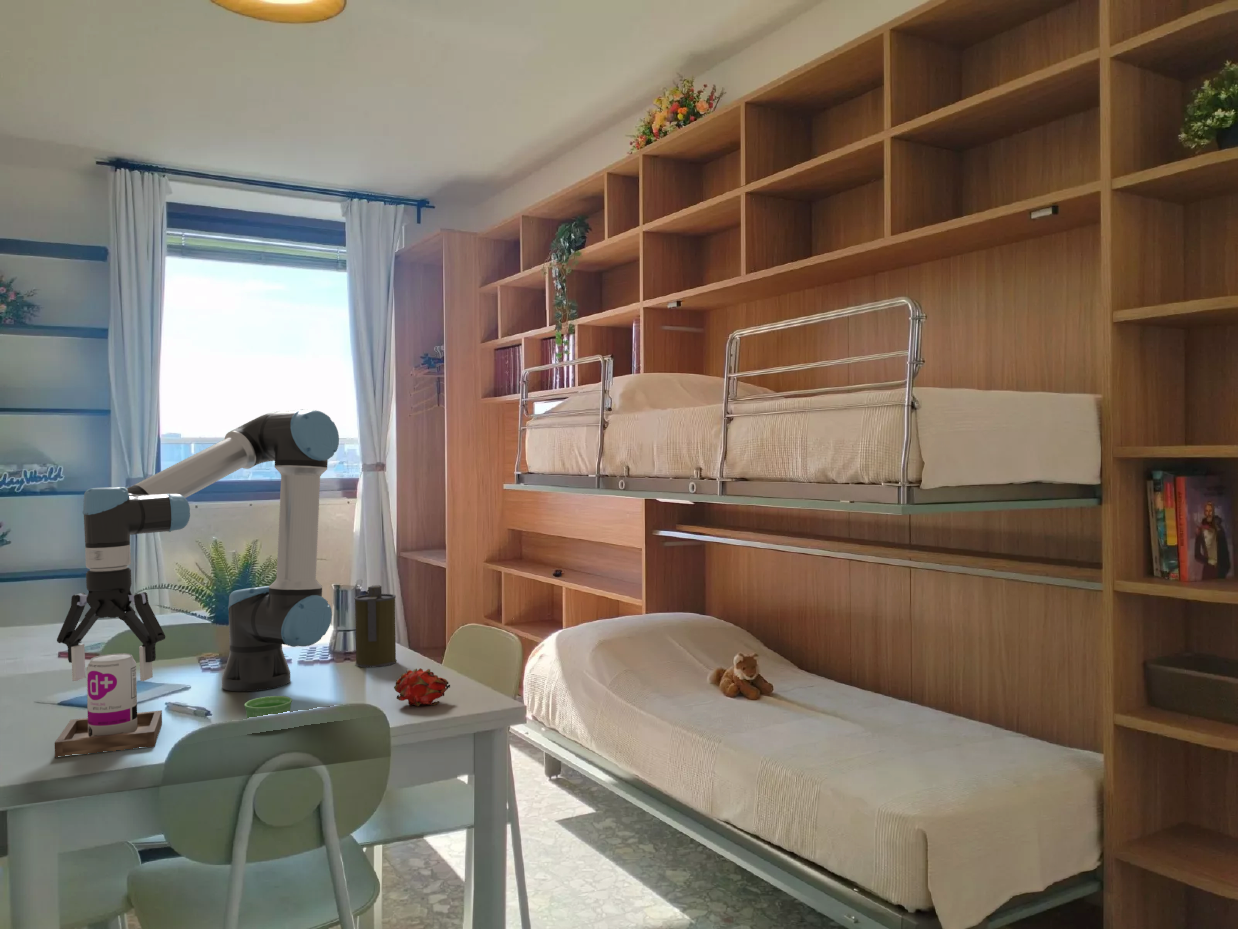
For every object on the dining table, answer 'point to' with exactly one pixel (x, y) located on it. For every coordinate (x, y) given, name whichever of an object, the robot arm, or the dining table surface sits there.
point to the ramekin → (267, 706)
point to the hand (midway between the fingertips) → (112, 679)
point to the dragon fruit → (420, 687)
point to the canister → (375, 628)
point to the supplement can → (111, 695)
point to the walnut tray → (108, 736)
